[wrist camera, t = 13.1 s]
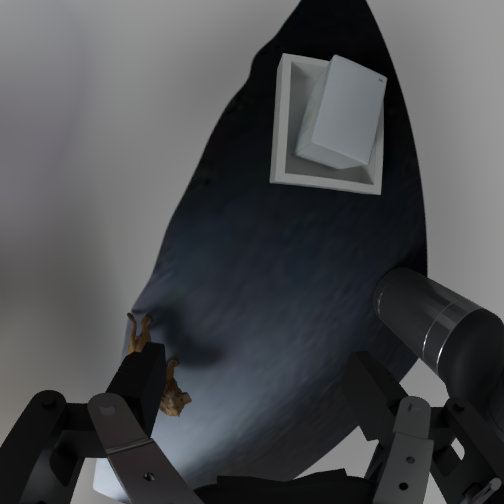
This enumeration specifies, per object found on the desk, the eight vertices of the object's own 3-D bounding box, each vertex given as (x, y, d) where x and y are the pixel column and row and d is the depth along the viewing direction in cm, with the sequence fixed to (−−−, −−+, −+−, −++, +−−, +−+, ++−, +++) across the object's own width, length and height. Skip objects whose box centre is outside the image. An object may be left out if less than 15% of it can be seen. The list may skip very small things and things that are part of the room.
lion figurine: (200, 376, 41) (194, 415, 32) (174, 388, 41) (165, 426, 32) (141, 303, 37) (118, 332, 29) (116, 319, 38) (91, 349, 29)
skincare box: (309, 85, 32) (334, 51, 21) (353, 102, 32) (390, 78, 22) (288, 155, 34) (309, 142, 23) (335, 172, 34) (371, 166, 24)
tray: (366, 86, 33) (382, 75, 28) (363, 193, 36) (380, 194, 31) (277, 69, 32) (283, 53, 27) (269, 182, 35) (275, 181, 30)
